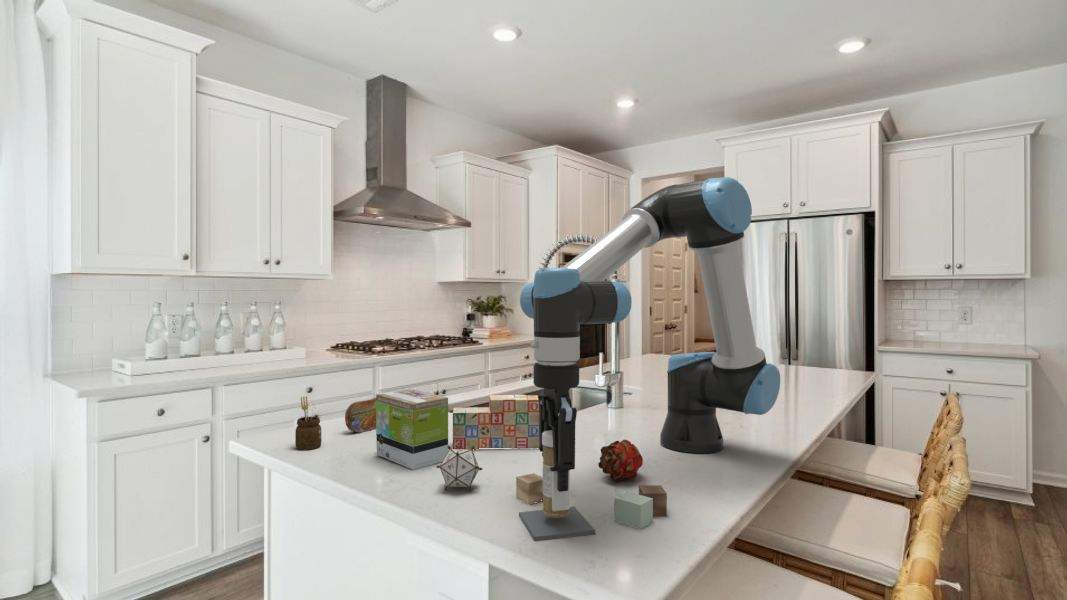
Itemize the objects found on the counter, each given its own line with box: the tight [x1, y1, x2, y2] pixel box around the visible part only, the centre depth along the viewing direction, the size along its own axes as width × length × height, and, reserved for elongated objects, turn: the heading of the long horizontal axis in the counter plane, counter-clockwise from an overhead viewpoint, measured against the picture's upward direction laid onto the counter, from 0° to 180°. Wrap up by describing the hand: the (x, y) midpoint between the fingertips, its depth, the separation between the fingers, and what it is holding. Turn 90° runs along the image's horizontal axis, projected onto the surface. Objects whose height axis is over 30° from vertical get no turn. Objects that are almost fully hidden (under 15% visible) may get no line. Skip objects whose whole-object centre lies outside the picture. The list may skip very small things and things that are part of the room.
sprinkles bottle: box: [541, 430, 570, 518], centre depth 93 cm, size 5×5×14 cm
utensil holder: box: [294, 396, 322, 451], centre depth 138 cm, size 6×6×12 cm
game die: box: [435, 445, 483, 492], centre depth 110 cm, size 9×8×10 cm
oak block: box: [515, 472, 543, 505], centre depth 104 cm, size 4×4×4 cm
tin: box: [344, 397, 376, 434], centre depth 156 cm, size 15×3×8 cm, turn 147°
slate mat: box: [518, 506, 596, 542], centre depth 93 cm, size 10×10×1 cm
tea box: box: [375, 388, 449, 471], centre depth 129 cm, size 15×10×15 cm, turn 47°
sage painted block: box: [613, 491, 654, 530], centre depth 94 cm, size 4×5×4 cm
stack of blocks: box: [452, 394, 539, 449], centre depth 139 cm, size 21×6×12 cm, turn 95°
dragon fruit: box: [597, 439, 644, 482], centre depth 116 cm, size 8×8×12 cm
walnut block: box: [638, 484, 668, 517], centre depth 99 cm, size 4×4×4 cm
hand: (556, 503), depth 93 cm, fingers closed on sprinkles bottle, 4 cm apart
